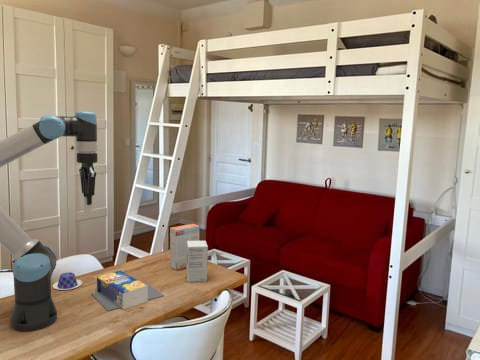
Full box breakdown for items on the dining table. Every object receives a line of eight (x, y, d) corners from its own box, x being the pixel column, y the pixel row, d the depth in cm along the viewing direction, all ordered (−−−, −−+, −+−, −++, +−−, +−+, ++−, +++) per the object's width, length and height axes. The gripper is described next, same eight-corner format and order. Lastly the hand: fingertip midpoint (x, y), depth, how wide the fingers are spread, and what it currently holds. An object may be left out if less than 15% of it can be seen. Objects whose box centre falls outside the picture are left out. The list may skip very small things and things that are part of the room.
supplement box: (186, 274, 196) (186, 240, 193) (205, 273, 197) (205, 239, 195) (187, 282, 186) (187, 246, 184) (207, 281, 188) (208, 246, 186)
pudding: (76, 291, 173) (75, 280, 172) (47, 291, 173) (47, 279, 172) (86, 280, 185) (86, 269, 184) (59, 280, 185) (59, 269, 184)
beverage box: (147, 285, 165) (120, 270, 180) (123, 293, 157) (96, 276, 172) (147, 301, 166) (120, 284, 181) (123, 309, 158) (97, 291, 173)
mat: (107, 311, 156) (107, 310, 156) (91, 294, 170) (91, 293, 170) (164, 296, 171) (164, 295, 171) (145, 282, 185) (145, 281, 185)
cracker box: (193, 261, 213) (193, 222, 210) (199, 265, 208) (200, 225, 205) (169, 267, 204) (169, 226, 201) (175, 271, 199) (176, 229, 196)
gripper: (102, 153, 154) (103, 214, 157) (91, 150, 164) (92, 208, 167) (82, 154, 149) (84, 216, 153) (71, 151, 159) (73, 210, 163)
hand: (88, 212), depth 160 cm, fingers closed
